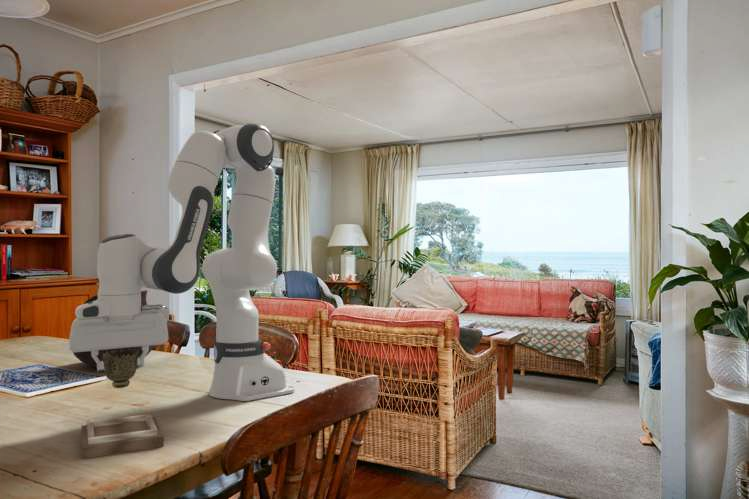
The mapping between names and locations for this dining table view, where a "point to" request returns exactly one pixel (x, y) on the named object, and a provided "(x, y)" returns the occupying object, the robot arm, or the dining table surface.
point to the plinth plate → (120, 435)
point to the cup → (120, 366)
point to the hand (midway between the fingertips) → (120, 367)
